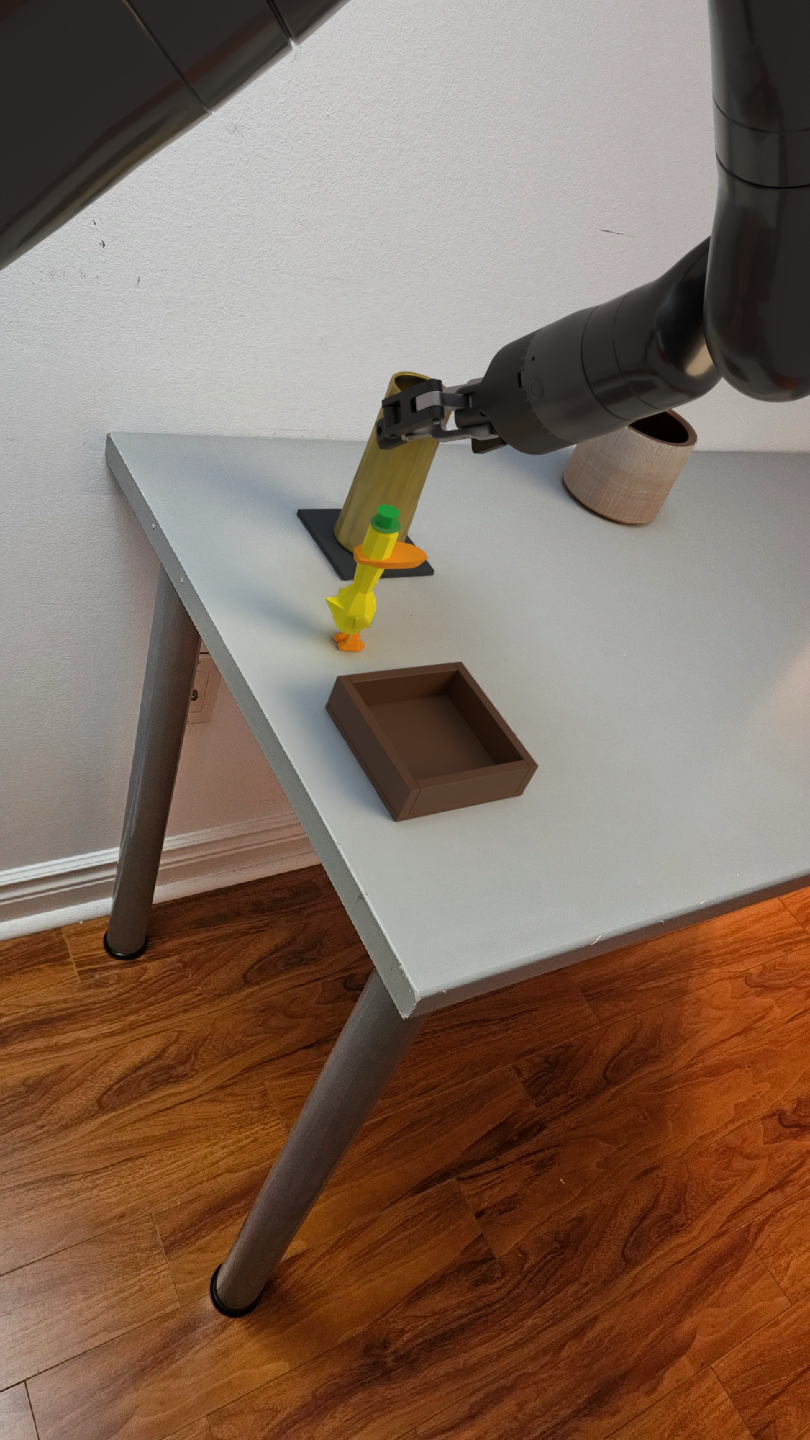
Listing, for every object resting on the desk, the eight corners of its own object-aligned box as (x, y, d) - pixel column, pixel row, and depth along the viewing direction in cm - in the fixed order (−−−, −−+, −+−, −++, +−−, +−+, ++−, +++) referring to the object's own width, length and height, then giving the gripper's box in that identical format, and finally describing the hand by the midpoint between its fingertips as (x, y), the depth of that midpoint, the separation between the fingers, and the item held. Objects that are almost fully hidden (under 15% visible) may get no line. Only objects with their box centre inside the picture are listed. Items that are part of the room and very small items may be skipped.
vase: (350, 564, 86) (407, 408, 77) (321, 519, 89) (371, 364, 80) (413, 562, 89) (474, 412, 80) (382, 519, 93) (438, 370, 84)
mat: (342, 580, 85) (344, 575, 85) (296, 513, 90) (297, 508, 89) (433, 575, 90) (435, 570, 90) (384, 512, 95) (386, 507, 94)
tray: (395, 822, 68) (410, 791, 66) (324, 707, 73) (336, 675, 71) (521, 795, 73) (539, 766, 71) (447, 690, 79) (461, 660, 77)
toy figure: (381, 627, 82) (433, 498, 74) (398, 658, 80) (453, 529, 72) (301, 628, 79) (347, 493, 71) (317, 660, 77) (366, 525, 69)
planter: (599, 529, 106) (643, 446, 100) (541, 467, 112) (580, 385, 106) (673, 527, 112) (719, 448, 106) (615, 468, 118) (655, 391, 112)
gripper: (649, 331, 70) (499, 394, 84) (477, 307, 62) (343, 381, 76) (657, 445, 71) (506, 489, 84) (487, 436, 63) (351, 486, 76)
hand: (429, 438), depth 80 cm, fingers open, 8 cm apart
